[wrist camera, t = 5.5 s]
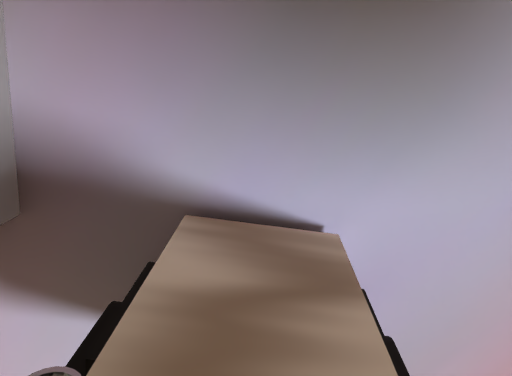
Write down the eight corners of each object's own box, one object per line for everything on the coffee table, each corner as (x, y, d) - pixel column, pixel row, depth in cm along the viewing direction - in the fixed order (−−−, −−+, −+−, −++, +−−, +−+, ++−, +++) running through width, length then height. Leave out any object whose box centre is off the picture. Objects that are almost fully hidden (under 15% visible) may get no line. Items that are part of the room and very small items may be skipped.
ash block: (338, 234, 12) (430, 451, 5) (312, 358, 13) (355, 652, 6) (185, 214, 12) (68, 405, 5) (176, 340, 13) (79, 616, 6)
